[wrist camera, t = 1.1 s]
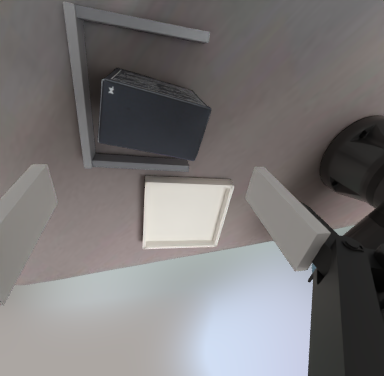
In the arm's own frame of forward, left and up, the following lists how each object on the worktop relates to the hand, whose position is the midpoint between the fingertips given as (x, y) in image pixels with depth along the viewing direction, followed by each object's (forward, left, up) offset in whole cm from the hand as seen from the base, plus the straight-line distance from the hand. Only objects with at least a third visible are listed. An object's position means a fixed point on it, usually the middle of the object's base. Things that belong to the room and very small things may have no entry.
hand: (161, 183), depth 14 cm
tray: (-7, +18, -19) cm, 27 cm away
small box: (0, -1, -20) cm, 20 cm away
